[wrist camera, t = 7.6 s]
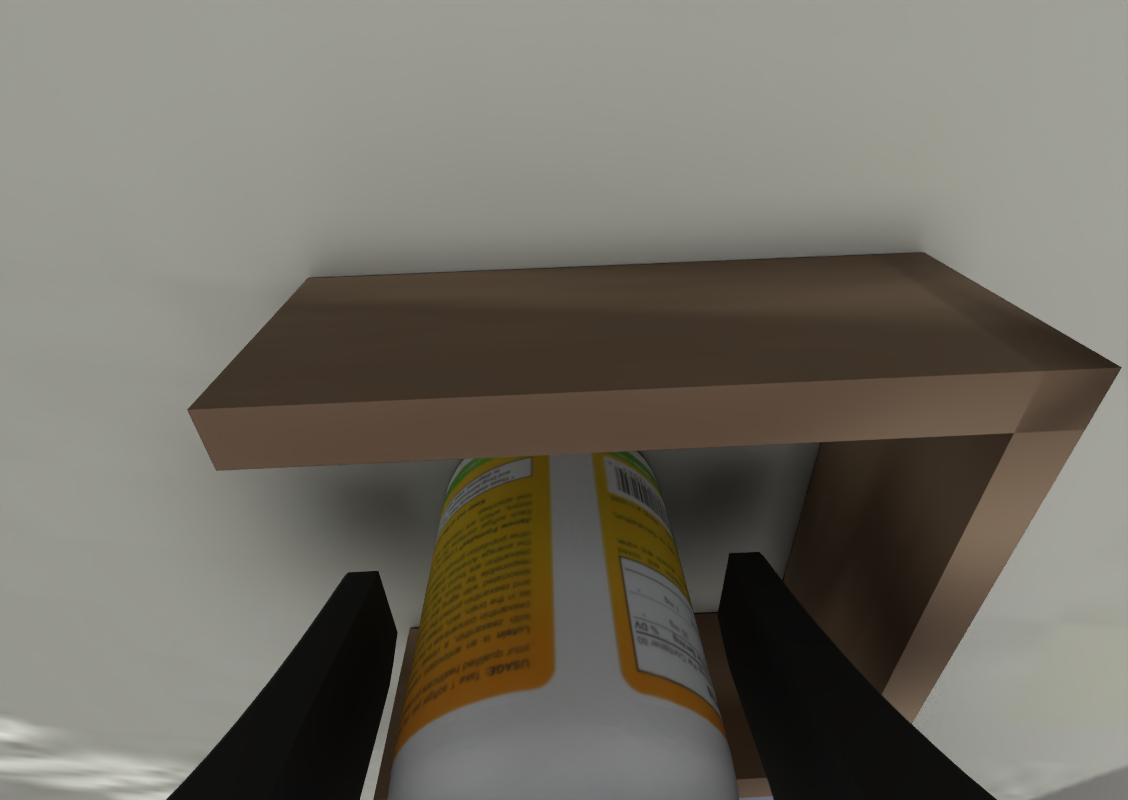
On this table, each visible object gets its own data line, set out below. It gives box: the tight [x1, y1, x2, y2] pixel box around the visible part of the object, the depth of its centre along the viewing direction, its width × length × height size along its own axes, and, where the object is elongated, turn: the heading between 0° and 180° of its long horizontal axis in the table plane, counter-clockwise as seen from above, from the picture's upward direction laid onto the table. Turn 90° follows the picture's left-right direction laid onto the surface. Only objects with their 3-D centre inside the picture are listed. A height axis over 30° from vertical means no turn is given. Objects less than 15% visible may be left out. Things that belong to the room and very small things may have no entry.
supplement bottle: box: [387, 451, 739, 800], centre depth 10 cm, size 5×5×10 cm
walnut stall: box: [188, 253, 1122, 800], centre depth 12 cm, size 12×12×4 cm
